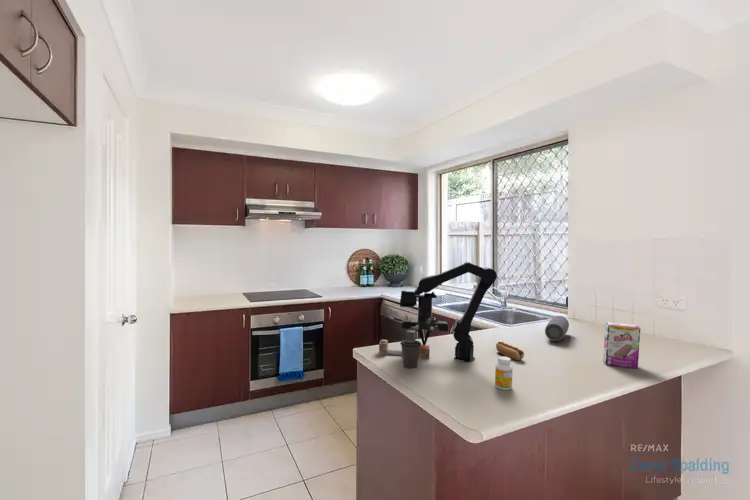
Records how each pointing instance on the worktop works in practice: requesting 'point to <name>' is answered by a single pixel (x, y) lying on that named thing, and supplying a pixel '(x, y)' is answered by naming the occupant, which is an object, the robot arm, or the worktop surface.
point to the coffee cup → (410, 353)
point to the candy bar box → (621, 345)
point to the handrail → (394, 352)
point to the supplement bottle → (503, 373)
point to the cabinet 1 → (383, 347)
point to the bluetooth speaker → (557, 328)
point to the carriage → (410, 334)
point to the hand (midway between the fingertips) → (424, 345)
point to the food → (509, 351)
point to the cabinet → (424, 352)
